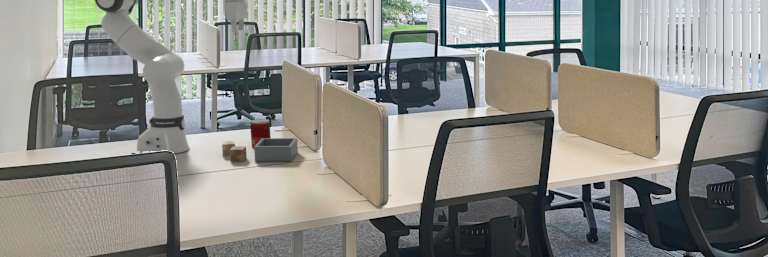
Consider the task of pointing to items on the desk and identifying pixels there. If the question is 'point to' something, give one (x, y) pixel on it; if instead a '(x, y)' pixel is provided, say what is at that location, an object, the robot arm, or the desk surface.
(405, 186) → the desk surface
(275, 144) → the bin
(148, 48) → the robot arm
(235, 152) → the walnut block
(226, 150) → the oak block
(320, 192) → the desk surface
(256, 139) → the canned food
